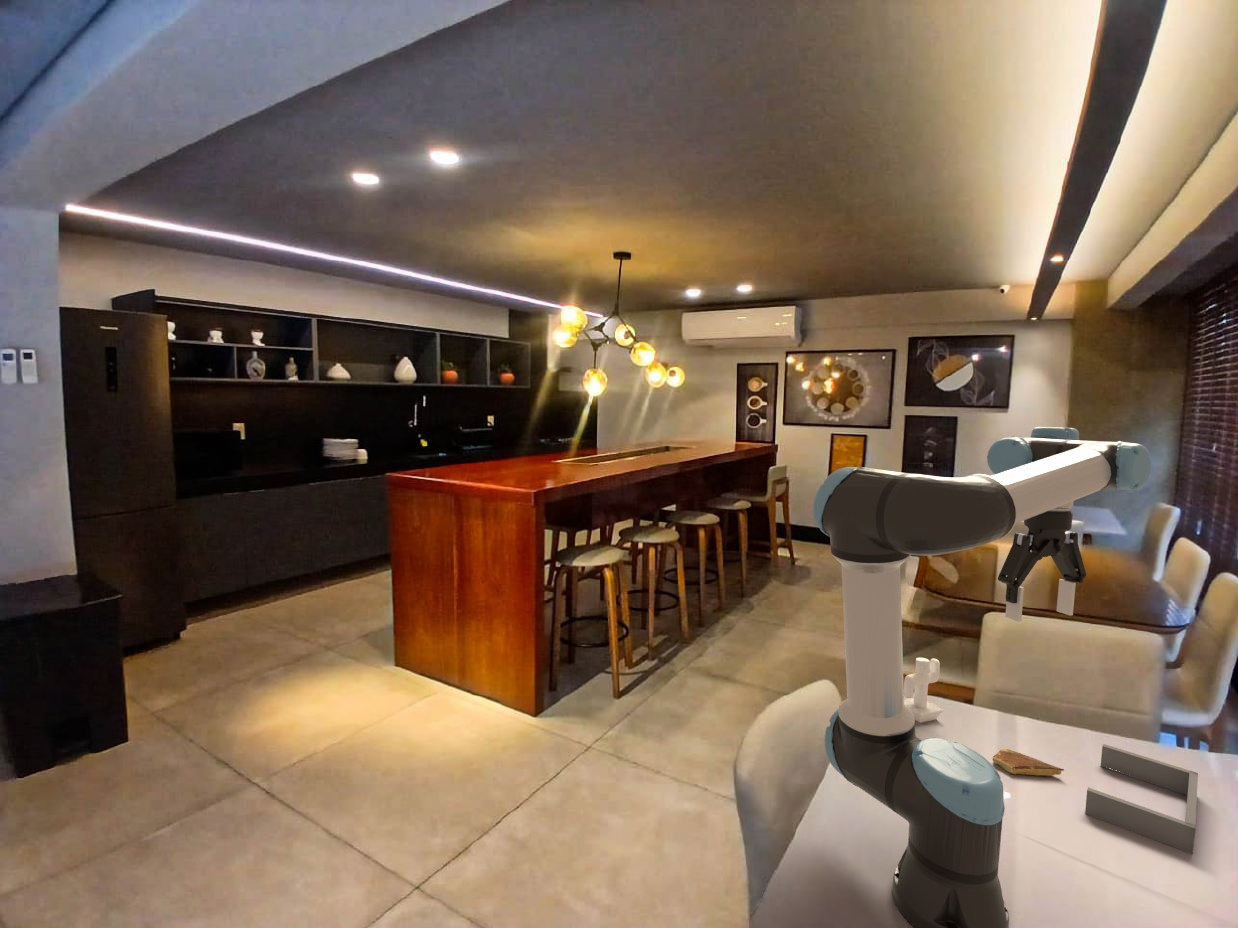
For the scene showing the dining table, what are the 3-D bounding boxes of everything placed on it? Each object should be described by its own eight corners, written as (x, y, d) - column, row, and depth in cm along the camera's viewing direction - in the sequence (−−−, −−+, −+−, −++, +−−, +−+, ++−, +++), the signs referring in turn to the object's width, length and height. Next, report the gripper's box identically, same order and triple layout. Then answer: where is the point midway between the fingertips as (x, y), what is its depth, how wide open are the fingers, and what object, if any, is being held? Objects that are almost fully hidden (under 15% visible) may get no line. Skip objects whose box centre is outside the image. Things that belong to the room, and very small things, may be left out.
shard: (1064, 776, 124) (1064, 767, 124) (1051, 791, 119) (1051, 782, 119) (1003, 753, 132) (1004, 745, 132) (989, 766, 127) (990, 758, 127)
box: (1085, 813, 113) (1087, 790, 113) (1101, 764, 129) (1103, 743, 129) (1192, 853, 103) (1195, 828, 103) (1195, 794, 119) (1198, 772, 119)
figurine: (892, 715, 148) (895, 655, 147) (921, 709, 152) (925, 650, 150) (916, 730, 142) (920, 667, 140) (946, 723, 145) (950, 662, 144)
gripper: (1018, 512, 110) (1009, 628, 112) (1115, 509, 118) (1104, 617, 120) (981, 506, 117) (973, 615, 119) (1075, 503, 125) (1066, 605, 127)
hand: (1039, 616), depth 119 cm, fingers open, 13 cm apart
